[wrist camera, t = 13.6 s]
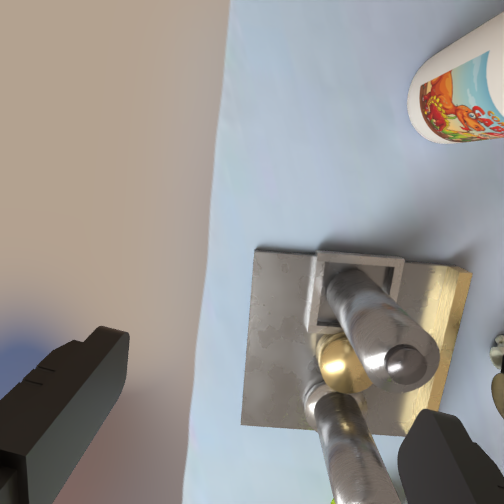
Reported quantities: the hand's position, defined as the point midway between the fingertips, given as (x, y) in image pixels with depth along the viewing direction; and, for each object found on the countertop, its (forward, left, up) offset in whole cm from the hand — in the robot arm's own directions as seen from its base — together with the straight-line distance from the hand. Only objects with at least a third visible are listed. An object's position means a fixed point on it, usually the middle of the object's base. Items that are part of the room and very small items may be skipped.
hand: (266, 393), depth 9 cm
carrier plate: (+12, +10, -24) cm, 29 cm away
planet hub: (+5, +10, -23) cm, 26 cm away
